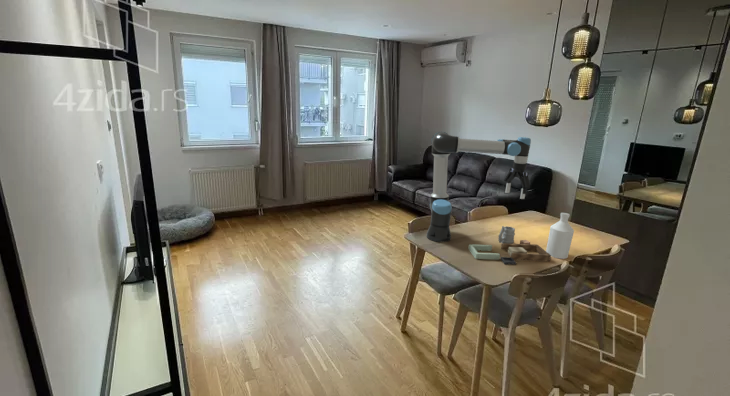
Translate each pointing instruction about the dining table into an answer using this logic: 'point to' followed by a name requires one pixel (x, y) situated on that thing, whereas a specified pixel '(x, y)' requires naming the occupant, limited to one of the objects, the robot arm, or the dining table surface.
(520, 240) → the terracotta cube
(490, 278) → the dining table surface
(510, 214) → the dining table surface
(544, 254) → the shallow wooden box
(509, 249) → the beech block
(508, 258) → the tray
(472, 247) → the dock
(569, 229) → the bottle
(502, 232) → the mug
